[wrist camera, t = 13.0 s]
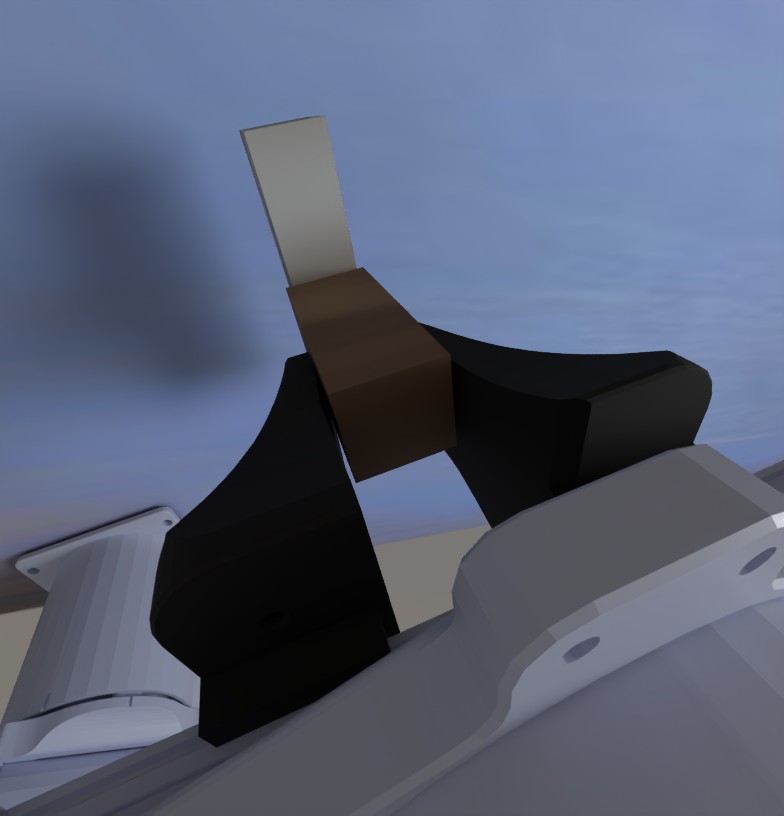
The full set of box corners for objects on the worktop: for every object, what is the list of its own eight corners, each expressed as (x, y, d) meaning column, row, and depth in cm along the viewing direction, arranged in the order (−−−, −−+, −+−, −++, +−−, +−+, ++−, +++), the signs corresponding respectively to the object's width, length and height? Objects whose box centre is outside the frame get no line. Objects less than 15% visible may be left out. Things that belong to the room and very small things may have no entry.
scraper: (371, 383, 18) (463, 541, 11) (321, 399, 18) (384, 574, 11) (311, 116, 12) (433, 104, 5) (232, 131, 12) (249, 141, 5)
